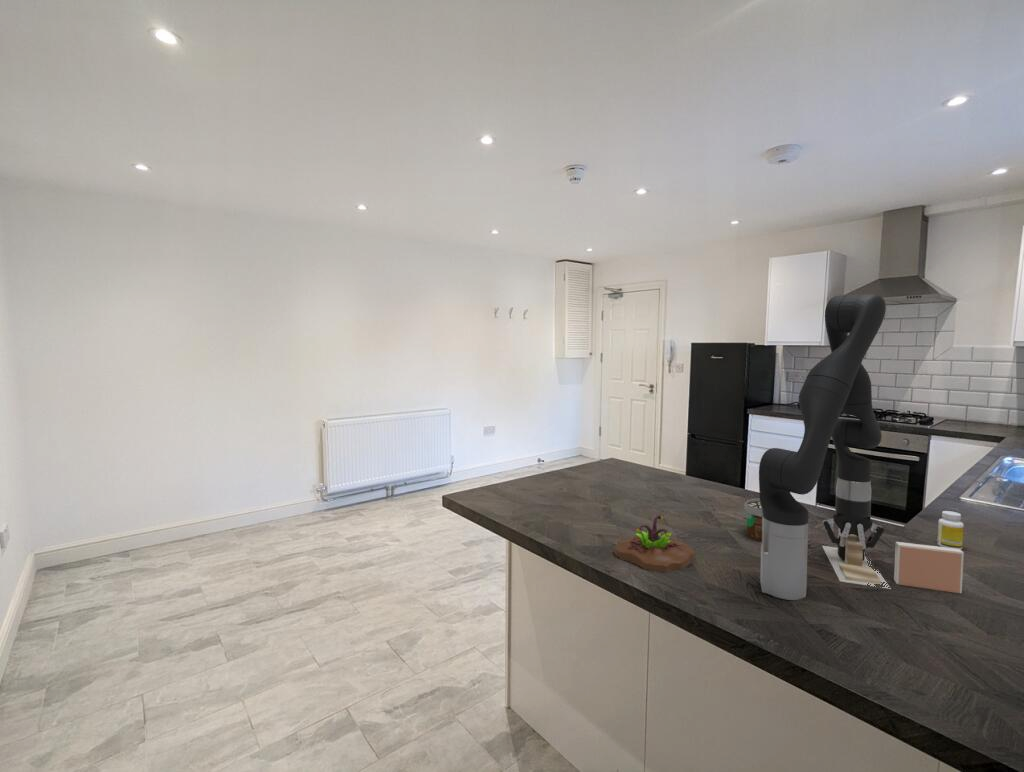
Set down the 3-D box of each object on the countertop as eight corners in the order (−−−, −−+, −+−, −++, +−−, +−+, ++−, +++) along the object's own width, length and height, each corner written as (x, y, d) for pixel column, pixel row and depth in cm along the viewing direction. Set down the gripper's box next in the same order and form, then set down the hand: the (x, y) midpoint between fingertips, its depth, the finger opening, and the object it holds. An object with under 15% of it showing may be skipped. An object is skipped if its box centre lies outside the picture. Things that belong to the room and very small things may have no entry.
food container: (748, 526, 154) (749, 495, 154) (770, 531, 150) (771, 499, 150) (738, 538, 145) (738, 505, 144) (760, 543, 141) (761, 509, 140)
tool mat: (840, 582, 117) (840, 581, 117) (822, 547, 138) (822, 545, 138) (891, 590, 113) (891, 588, 113) (864, 552, 134) (864, 551, 134)
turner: (829, 548, 136) (830, 527, 135) (859, 552, 133) (860, 531, 132) (846, 579, 117) (846, 555, 117) (881, 584, 115) (882, 560, 114)
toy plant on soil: (708, 559, 132) (709, 519, 131) (662, 579, 120) (662, 535, 120) (649, 537, 148) (649, 501, 147) (604, 552, 137) (604, 514, 136)
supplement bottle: (967, 551, 134) (969, 516, 133) (945, 549, 135) (947, 515, 134) (953, 543, 139) (955, 510, 138) (932, 542, 140) (934, 509, 139)
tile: (896, 585, 115) (898, 544, 114) (893, 581, 117) (895, 541, 116) (961, 595, 110) (964, 552, 109) (957, 591, 112) (959, 549, 111)
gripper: (824, 497, 126) (822, 561, 127) (890, 503, 120) (888, 570, 121) (819, 489, 132) (817, 550, 134) (881, 494, 127) (879, 558, 128)
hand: (850, 559), depth 127 cm, fingers closed on turner, 3 cm apart
